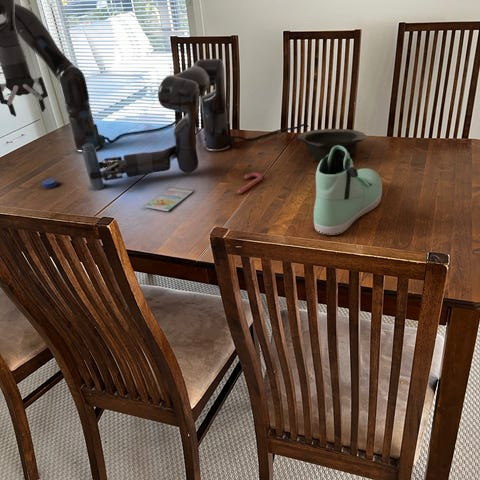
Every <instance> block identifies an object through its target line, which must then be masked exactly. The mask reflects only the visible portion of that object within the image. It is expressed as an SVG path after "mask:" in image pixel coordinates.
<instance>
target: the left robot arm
mask: <svg viewBox="0 0 480 480" xmlns="http://www.w3.org/2000/svg"><path fill="white" fill-rule="evenodd" d="M1 15H2V17H4V20H3V21H1V22H0V67H1V70H2V74H3V77H4V80H5V83H0V104H1V105H6V106H7V107H8V110H9V113H10V115H11V116H13V117H14V118H15V117H17V112H16V110H15V107H14V104H13V102H14V99H15V97H16V96H18V97H20V96H23V95H24V96H26V95H27V96H28V95H29V94H32V95H33V96H34V97H35V98H37V100H38V104H39V107H40V110H41V113H44V112H45V110H46V105H45V101H44V99H45V98H47V97H48V98H49V94H48V91H47V87H46V85H45V82H44V79H43V77H42V76H38V77H36V78H33V77H32V75H31V72H30V69H29V68H30V67H29V65H28V61H27V57H26V54H25V52H24V49H23V47H22V44H21V40H22V41H23V42H24V43H25V44H26V46H28V48H30V49H31V50H32V51H33V52H34V53H35V54H36V55H37V56H38V57H39V58H40V59H41V60H42V61H43V62H44V63H45V65H46V66H47V67H48V68H49V70H50V71H51V72H52V74H53V76H54V77H55V79H56V80H57V82H58V84H59V85H60V86H61V91H62V96H63V99H64V106H65V110H66V114H67V115H66V116H67V118H68V122H69V126H70V130H71V133H72V137H73V142H74V145H75V150H76V152H77V153H80V154H83V153H82V150H83V148H82V146H83V145H84V144H88V143H91V144H93V147H94V148H95V149H96V151H97V150H99V149H100V148H102V145H103V144H106V141H107V142H108V143H114V142H116V141H117V140H119V139H120V138H121V137H124V136H129V135H136V134H143V133H151V132H156V131H162V130H165V129H167V128H169V127H172V126H174V125H177V124H178V122H179V121H180V120H181V119H183V118H184V117H180V118H177V119H176V120H175V121H174V122H172V123H170V124H167V125H163V126H161V127H157V128H151V129H145V130H137V131H130V132H129V131H128V132H123V133H120V134H119V135H117V136H116V137H115V138H114V139H112V140H110V138H109V137H108V136H105V135H103V134H100V133H99V129H98V125H97V123H95V121H94V116H93V113H92V108H91V104H90V95H89V90H88V86H87V82H86V77H85V75H84V73H83V71H82V70H81V69H80V68H79V67H77V66H76V65H74V64H73V62H71V61H70V60H69V59H68V57H67V56H66V55H65V54H64V53H63V52H62V51H61V50H60V48H59V47H58V45H57V44H56V42H55V39H54V38H53V36H52V35H51V33H50V32H49V30H48V29H47V27H46V26H45V25H44V23H43V22H42V20H40V19H39V17H38V15H36V14H35V12H34V11H33V10H31V9H29V8H28V7H26V6H23V5H20V4H19V3H17V2H15V0H0V16H1ZM20 38H21V40H20ZM35 83H36V85H37V86H40V88H41V91H42V93H39V92H38V91H37V89H35V88H34V85H35ZM5 88H6V89H7V90H9V91H10V93H9V96H8V98H7V99H5V95H4V93H3V92H4V91H5Z"/></svg>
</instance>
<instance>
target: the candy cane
mask: <svg viewBox="0 0 480 480" xmlns="http://www.w3.org/2000/svg"><path fill="white" fill-rule="evenodd" d="M250 178H254V179H252V180H251V181H250V182H248V183H247V184H246V185H244V186H242V187H241V188H239V189H238V190H237V191H236V194H237V195H241V194H243V193H244V192H246V191H247V190H249V189H250V188H252V187H253V186H254V185H256V184H258V183H259V182H261V181H262V180H263V174H261V173H259V172H249V173H247V174H245V175H244V180H248V179H250Z"/></svg>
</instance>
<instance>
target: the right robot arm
mask: <svg viewBox="0 0 480 480" xmlns="http://www.w3.org/2000/svg"><path fill="white" fill-rule="evenodd" d="M209 87H215V88H214V90H212V91H211V92H209V93H207V94H205V93H206V92H207V90H208V89H209ZM203 94H204V95H203ZM201 96H202V97H201ZM226 98H227V97H226V81H225V66H224V62H223V60H222V59H221V58H206V59H199V60H196V61H195V62H194V63H193V65H192V66H191V67H190V66H189V67H188V68H186V69H185V70H183V71H181V72H179V73H177V74H173V75H172V74H171V75H167V76H166V77H165V78H164V79H162V81H161V82H160V84H159V87H158V90H157V99H158V102H159V104H160V105H161V107H163V108H164V109H166V110H170V111H175V112H180V113H186V114H185V115H184V117H182V118H183V119H181V120H180V121H178V122H177V123H176V124H175V127H174V130H173V140H174V145H172V146H170V147H168V148H165V149H163V150H156V151H149V152H147V151H146V152H145V151H143V152H137V153H131V154H124V155H123V158H122V156H114V157H107V158H106V157H105V158H104V159H103V160H101V161H98V162H99V166H100V170H101V169H103V170H101V171H98V172H91V173H90V178H91V179H99V178H102V179H103V181H106V182H107V181H112V180H118V179H122V178H123V177H124V176H123V174H126V177H127V178H133V177H140V176H146V175H151V174H154V173H160V172H168V171H169V170H170V169H171V167H172V161H173V160H175V159H176V162H177V167H178V169H179V170H180V171H181V172H182V173H185V174H191V173H193V172H195V171H196V170H197V169H198V167H199V156H198V152H197V134H196V133H197V132H196V131H197V122H198V114H199V113H198V112H199V104H200V105H201V112H202V121H203V130H204V139H203V140H204V142H205V149H206V150H207V151H209V152H214V153H215V152H223V151H226V150H229V149H230V147H232V145H233V143H234V142H235V140H236V139H240V140H243V141H246V142H247V141H248V142H249V141H255V140H258V139H261V138H264V137H268V136H271V135H274V134H277V133H280V132H285V131H291V130H296V129H297V130H298V129H300V128H302V127H306V128H309V125H308V124H306V123H301V124H299V125H297V126H293V127H286V128H282V129H281V128H280V129H277V130H274V131H271V132H268V133H265V134H261V135H258V136H255V137H250V138H246V137H243V136H238V135H234V134H232V132H231V123H230V122H229V121H228V111H227V100H226Z"/></svg>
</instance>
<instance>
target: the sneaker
mask: <svg viewBox="0 0 480 480" xmlns="http://www.w3.org/2000/svg"><path fill="white" fill-rule="evenodd" d="M317 165H318V166H317V168H316V172H315V201H314V207H313V225H314V229H315V231H316V232H318V233H320V234H323V235H326V236H327V235H328V236H336V235H339V234H342V233H344V232H345V231H347V230H348V229H349V228H350V227H351V226H352V225H353V224H354V222H356V221H357V220H358V219H359V218H360V217H362V216H363V215H365V214H367V213H370V212H372V210H374V209H375V208H377V207H378V205H380V203H381V200H382V196H383V184H382V183H383V182H382V179H381V176H380V175H379V173H378V172H377V171H376V170H374V169H372V168H367V167H365V168H358V169H357V168H355V167H354V161H353V159H352V158H351V157H350V156H349V153H348V152H347V150H346V149H345V148H344V147H342V146H334V147H333V148H332V149H331V152H330V154H329V155H327V156H326V157H325V158H324V159H322V160H321V161H320V162H318V164H317ZM343 230H344V231H343ZM319 231H320V232H319ZM322 232H323V233H322ZM339 232H340V233H339ZM326 233H327V234H326ZM328 233H329V234H328ZM335 233H337V234H335Z"/></svg>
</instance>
